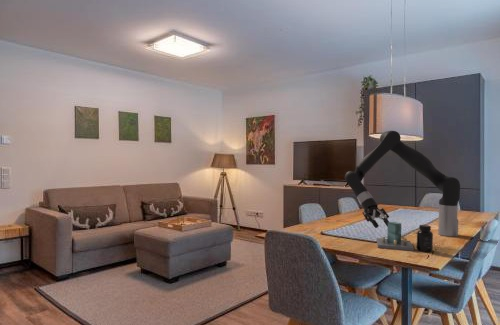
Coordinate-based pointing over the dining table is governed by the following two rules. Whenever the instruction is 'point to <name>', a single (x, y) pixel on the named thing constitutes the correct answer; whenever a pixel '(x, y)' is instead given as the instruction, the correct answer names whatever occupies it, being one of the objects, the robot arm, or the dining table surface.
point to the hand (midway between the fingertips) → (383, 226)
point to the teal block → (394, 232)
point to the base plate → (395, 244)
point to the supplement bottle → (424, 239)
